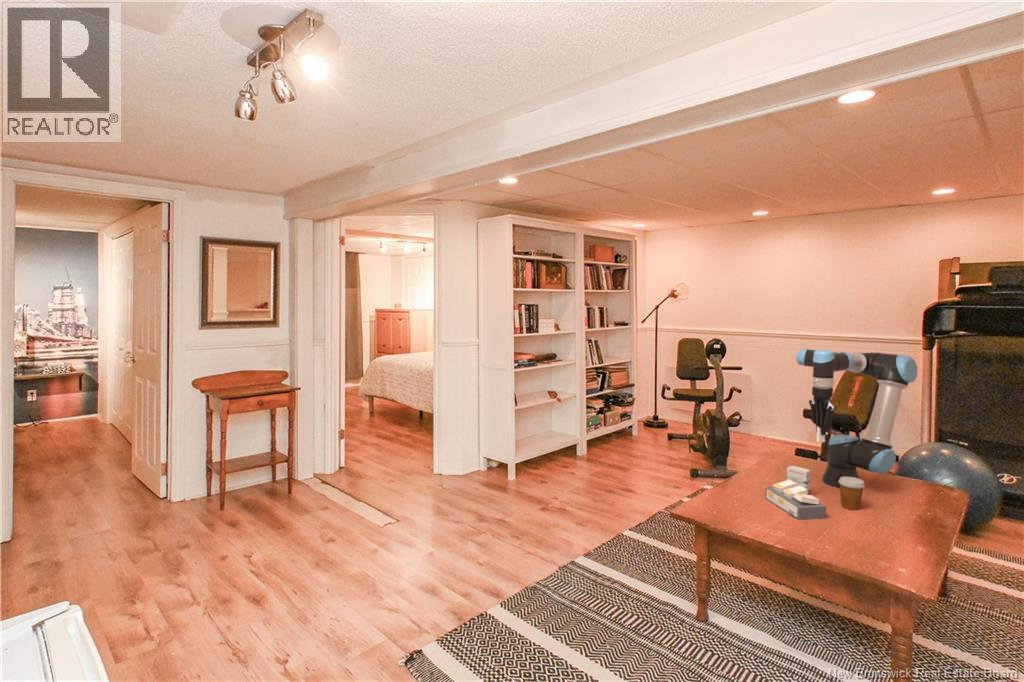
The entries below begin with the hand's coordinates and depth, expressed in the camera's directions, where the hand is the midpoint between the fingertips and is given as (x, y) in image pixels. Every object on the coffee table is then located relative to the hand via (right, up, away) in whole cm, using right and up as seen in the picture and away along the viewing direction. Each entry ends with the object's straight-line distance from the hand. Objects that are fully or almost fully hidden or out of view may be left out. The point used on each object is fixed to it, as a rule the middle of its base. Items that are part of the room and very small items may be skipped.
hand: (820, 441), depth 225 cm
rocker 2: (-11, -21, 0) cm, 24 cm away
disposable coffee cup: (+13, -28, +2) cm, 31 cm away
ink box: (-1, -27, +17) cm, 32 cm away
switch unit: (-11, -28, +1) cm, 30 cm away
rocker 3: (-10, -22, -7) cm, 25 cm away
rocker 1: (-12, -21, +7) cm, 25 cm away
